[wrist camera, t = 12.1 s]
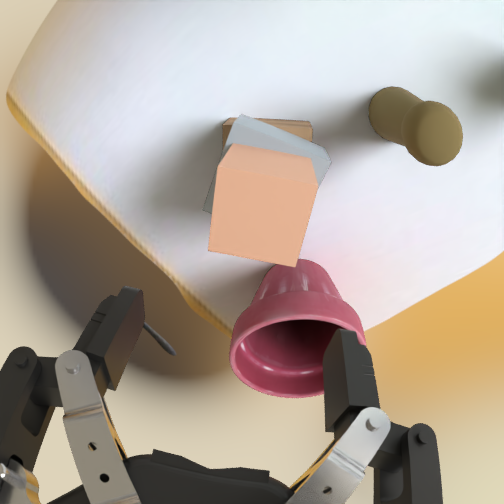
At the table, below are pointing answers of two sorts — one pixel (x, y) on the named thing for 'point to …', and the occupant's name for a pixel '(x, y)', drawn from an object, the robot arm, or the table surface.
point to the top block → (271, 147)
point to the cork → (416, 125)
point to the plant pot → (290, 331)
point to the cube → (262, 204)
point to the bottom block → (291, 126)
